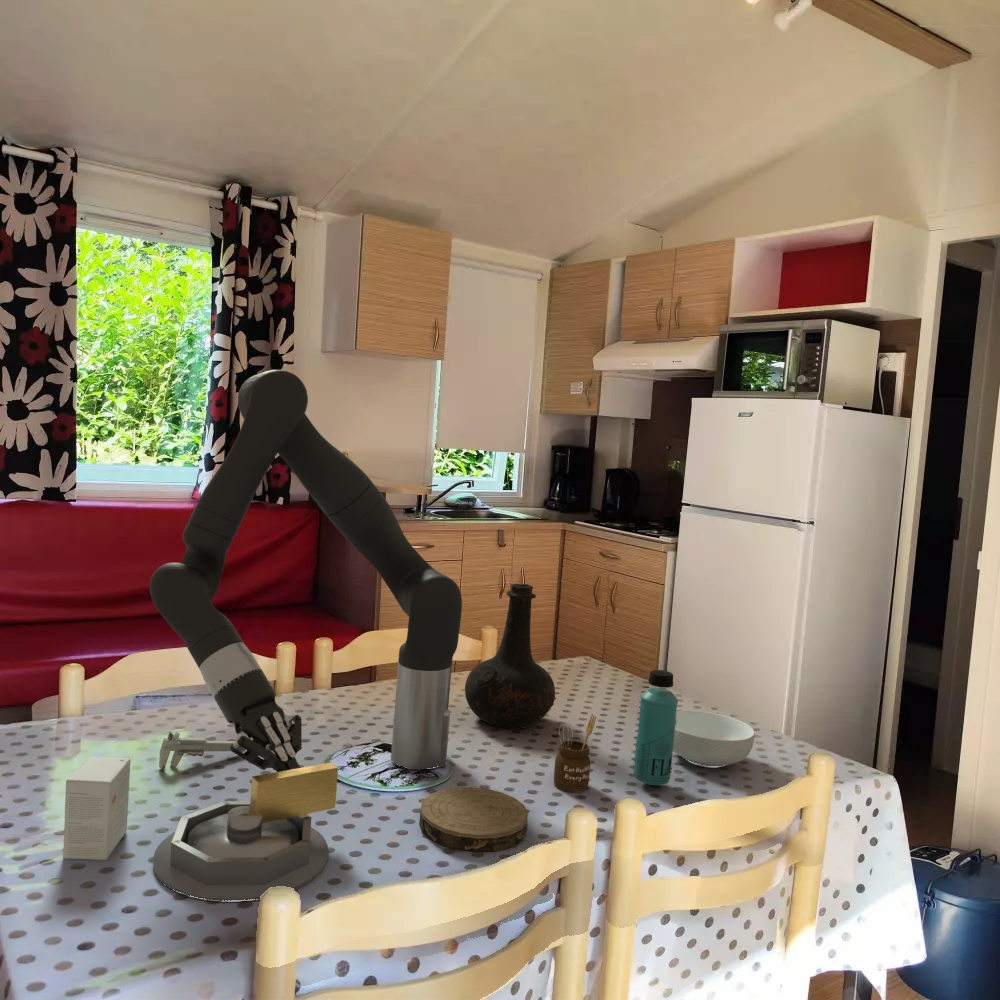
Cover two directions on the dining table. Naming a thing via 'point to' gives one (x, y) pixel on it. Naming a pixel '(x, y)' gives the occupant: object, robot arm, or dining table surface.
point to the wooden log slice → (473, 820)
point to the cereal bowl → (711, 738)
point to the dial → (267, 813)
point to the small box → (96, 808)
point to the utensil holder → (573, 762)
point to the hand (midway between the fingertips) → (298, 786)
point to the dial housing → (237, 862)
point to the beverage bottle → (656, 731)
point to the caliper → (188, 748)
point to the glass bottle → (512, 673)
